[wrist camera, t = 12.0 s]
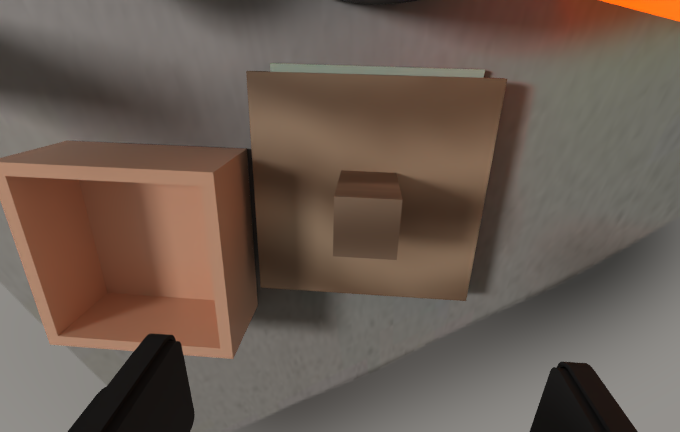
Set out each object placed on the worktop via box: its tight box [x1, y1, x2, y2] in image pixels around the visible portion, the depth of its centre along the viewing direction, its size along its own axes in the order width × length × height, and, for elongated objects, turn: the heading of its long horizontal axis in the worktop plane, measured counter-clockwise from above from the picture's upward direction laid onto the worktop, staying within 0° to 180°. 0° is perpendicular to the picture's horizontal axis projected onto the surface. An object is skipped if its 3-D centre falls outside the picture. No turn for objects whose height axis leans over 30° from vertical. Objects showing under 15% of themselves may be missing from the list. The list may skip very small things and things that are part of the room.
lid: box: [246, 71, 507, 301], centre depth 23 cm, size 15×15×6 cm
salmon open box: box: [0, 141, 258, 359], centre depth 26 cm, size 13×13×6 cm
